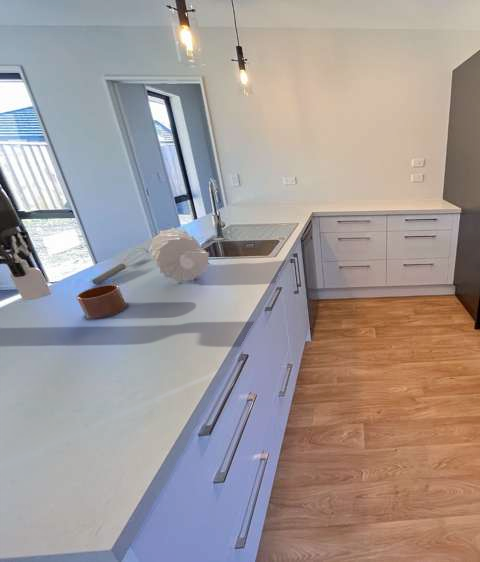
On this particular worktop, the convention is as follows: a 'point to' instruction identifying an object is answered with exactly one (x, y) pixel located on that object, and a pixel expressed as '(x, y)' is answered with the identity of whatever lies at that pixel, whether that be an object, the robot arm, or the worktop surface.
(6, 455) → the worktop surface
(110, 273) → the kitchen whisk
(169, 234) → the spiral staircase
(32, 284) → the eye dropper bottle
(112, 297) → the cup
